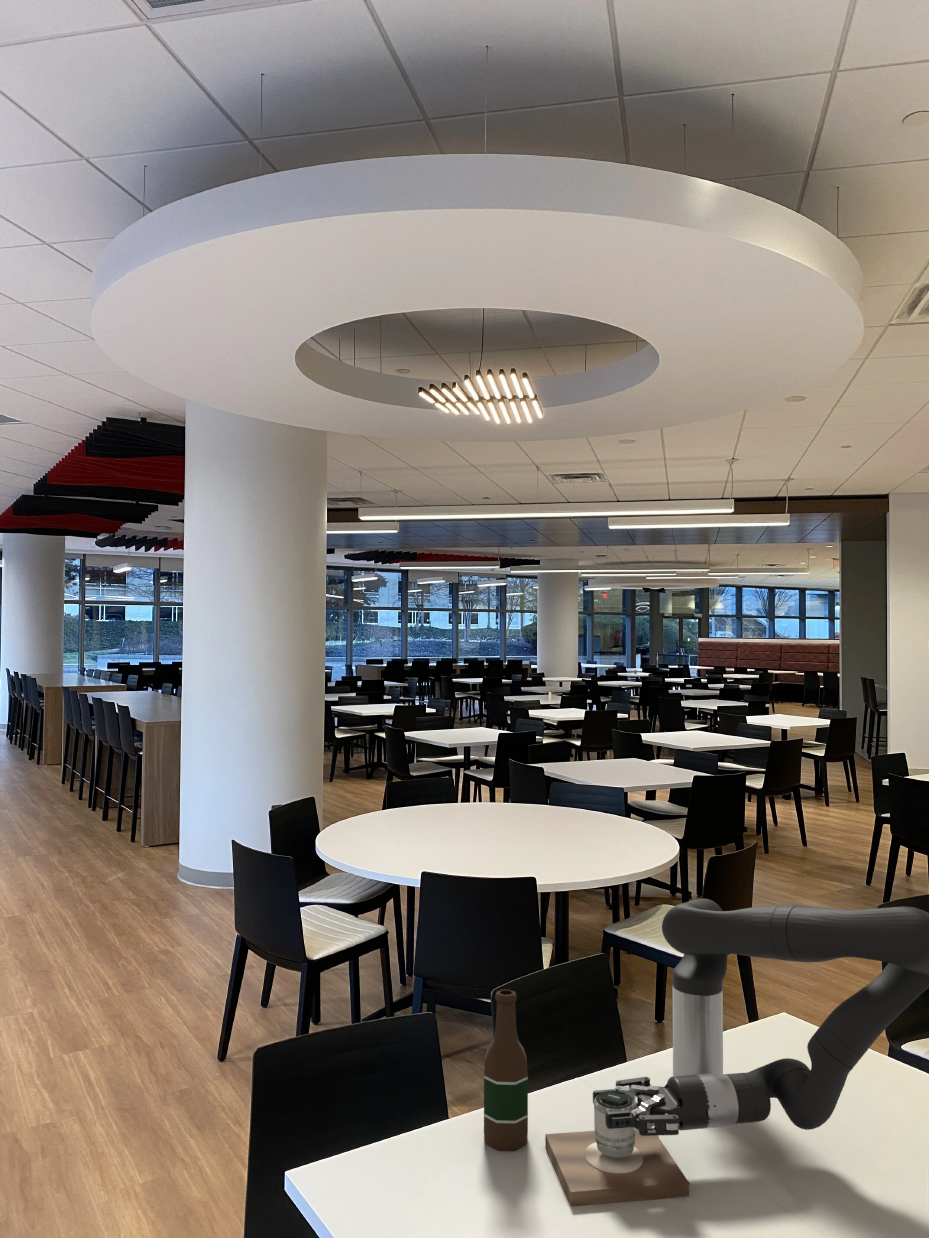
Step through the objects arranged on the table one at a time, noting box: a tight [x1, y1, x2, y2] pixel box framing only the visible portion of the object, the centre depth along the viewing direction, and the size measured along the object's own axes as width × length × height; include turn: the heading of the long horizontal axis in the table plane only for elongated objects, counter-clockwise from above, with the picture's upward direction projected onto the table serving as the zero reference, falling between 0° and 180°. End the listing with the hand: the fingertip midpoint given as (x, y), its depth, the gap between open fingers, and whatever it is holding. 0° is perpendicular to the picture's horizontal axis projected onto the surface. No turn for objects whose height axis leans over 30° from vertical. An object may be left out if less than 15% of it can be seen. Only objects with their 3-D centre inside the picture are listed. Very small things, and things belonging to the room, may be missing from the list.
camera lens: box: [593, 1090, 635, 1157], centre depth 140 cm, size 6×6×8 cm
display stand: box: [544, 1127, 690, 1207], centre depth 140 cm, size 16×18×2 cm
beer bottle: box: [483, 988, 529, 1152], centre depth 149 cm, size 8×8×24 cm
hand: (599, 1109), depth 140 cm, fingers closed on camera lens, 6 cm apart
